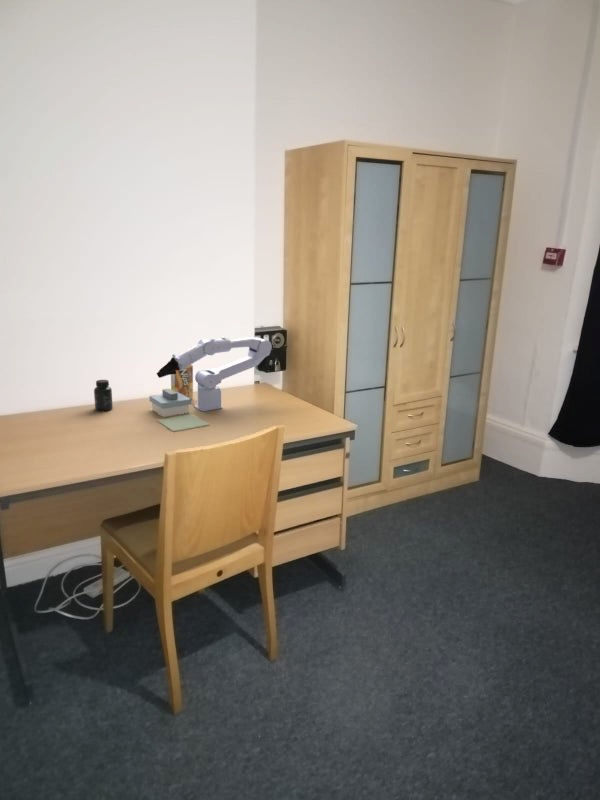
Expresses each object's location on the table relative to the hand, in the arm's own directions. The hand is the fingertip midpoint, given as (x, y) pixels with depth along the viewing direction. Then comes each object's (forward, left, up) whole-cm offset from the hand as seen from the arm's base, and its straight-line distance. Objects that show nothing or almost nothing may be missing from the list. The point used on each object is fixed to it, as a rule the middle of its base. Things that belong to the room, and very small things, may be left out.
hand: (159, 374), depth 225 cm
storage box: (-5, -2, -17) cm, 18 cm away
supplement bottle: (+17, -18, -17) cm, 30 cm away
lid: (-5, -2, -13) cm, 14 cm away
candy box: (-17, -16, -17) cm, 29 cm away
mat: (-3, +14, -17) cm, 22 cm away
